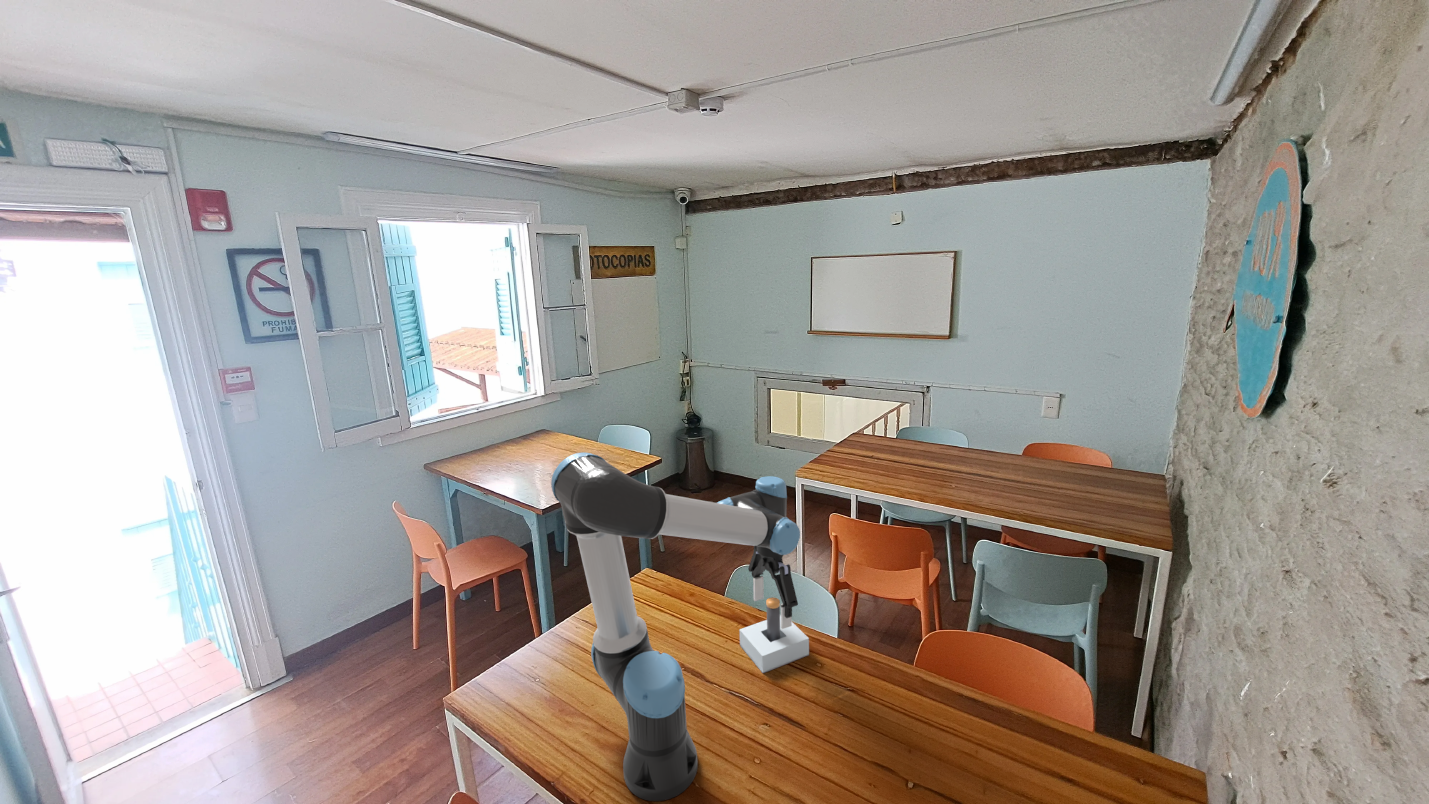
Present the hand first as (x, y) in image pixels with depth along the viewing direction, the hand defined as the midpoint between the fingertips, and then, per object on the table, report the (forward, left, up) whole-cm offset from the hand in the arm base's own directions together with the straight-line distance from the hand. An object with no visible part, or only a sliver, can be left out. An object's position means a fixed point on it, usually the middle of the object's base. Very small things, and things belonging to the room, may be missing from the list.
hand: (771, 612), depth 142 cm
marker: (0, 0, -11) cm, 11 cm away
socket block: (0, 0, -11) cm, 12 cm away
